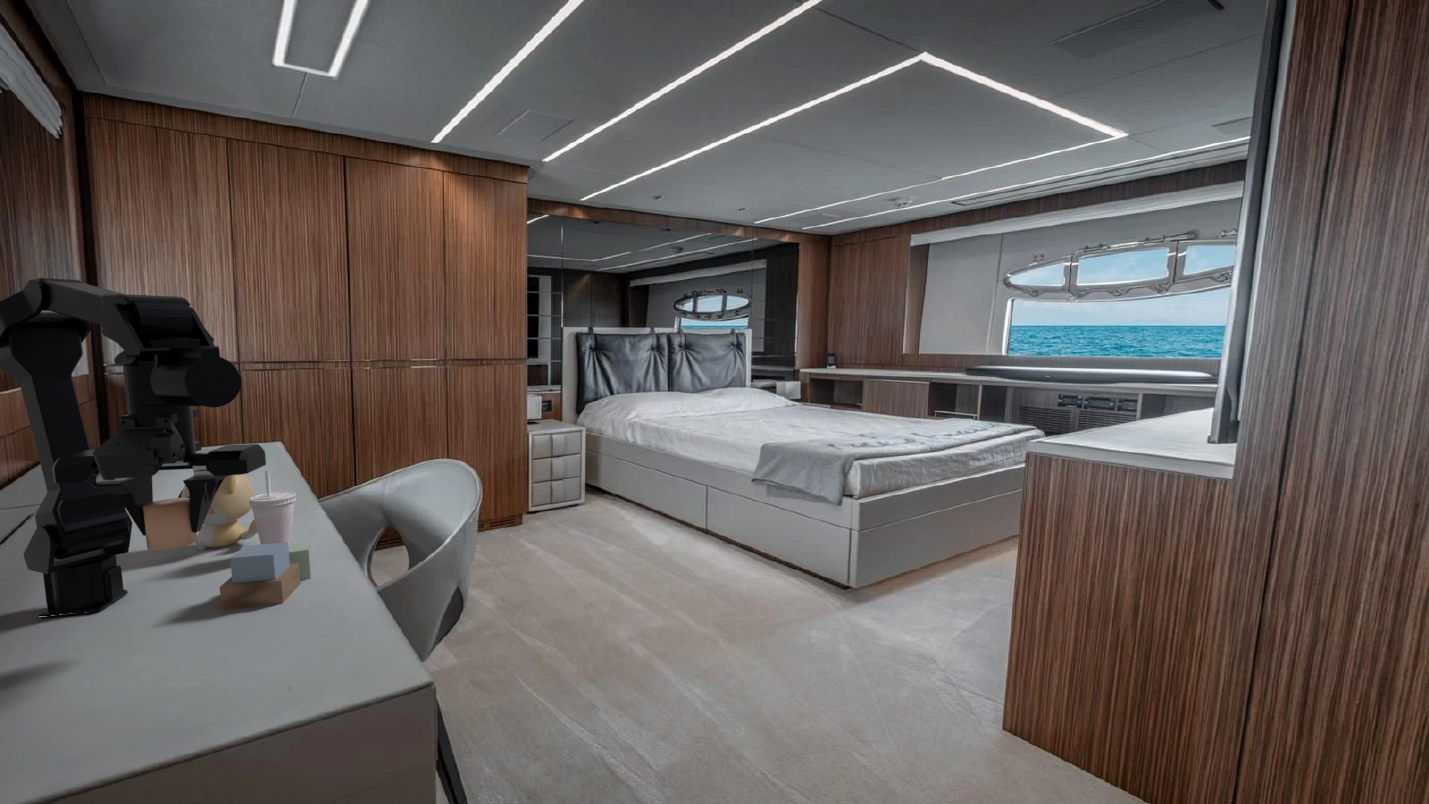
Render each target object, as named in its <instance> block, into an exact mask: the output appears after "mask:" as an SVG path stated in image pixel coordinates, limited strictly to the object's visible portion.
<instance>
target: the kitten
mask: <svg viewBox="0 0 1429 804" xmlns="http://www.w3.org/2000/svg"><path fill="white" fill-rule="evenodd" d="M193 476H194V474H193V475H192V476H191V477H193ZM182 488H183V489H182V490H181V491H180V492H179V495H178V496H177V498H189V490H188V488H187V487H186V485H185V484H184V486H183V487H182ZM253 496H255V491H254V488H253V485H252V483H251V481H250V480H249V479H248V477H247V476H246V474H241V475H230V476H227V477H225V478H224V480H223V482H222V483H221V485H220V487H219V489H218V491H217V492H216V494H215V496H214V499H213V501H212V503H211V506H210V508H209V511H208V513H207V516H206V518H205V520H204V523H203V525H202V528H201V530H200V531H198V532H197V541H196V542H195V546H196V548H197V549H198V550H199V551H204V550H206V548H219V547H225V546H230V545H233V544H237V543H238V542H240V541H241V540H249V539H250V538H253V537H254V536H256V534H257V535H258V531H257V527H256V522H255V518H253V520H252V521H251V522H250V525H249V526H248V530H245V528H244V526H243V524H242V523H241V522H240V521H239V519H241V518H243V516H245V515H247V514H248V513H249V512H250V511H252V506H249V499H250V498H251V497H253Z"/></svg>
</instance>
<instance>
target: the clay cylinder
mask: <svg viewBox="0 0 1429 804" xmlns="http://www.w3.org/2000/svg"><path fill="white" fill-rule="evenodd" d="M143 512H144V522H145V532H146V536H145V539H146V549H147V550H150V551H165V550H173V549H178V548H182V547H186V546H189V545H192V544H196V541H197V536H198V532H196V533H193V532H192V528H191V523H190V498H178V497H177V498H175V497H174V498H167V499H166V498H165V499H160V500H159V499H158V500H154V501H153V502H151V503H147V504H145V505H143Z"/></svg>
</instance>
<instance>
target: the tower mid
mask: <svg viewBox="0 0 1429 804" xmlns="http://www.w3.org/2000/svg"><path fill="white" fill-rule="evenodd" d="M229 559H230V560H229V561H230V570H231V577H232V583H241V582H252V581H263V580H275V579H277V578H278V577H279V576H280V575H281V574H282V573H283V572H284V571H285V570H286V569H287V568H288V567H290V560H289V548H288V542H286V543H273V544H261V543H260V544H249V545H246V546H245V547H243V548H242V549H241V550H239V551H237V553H235V554H234V555H232V556H231V557H230V558H229Z"/></svg>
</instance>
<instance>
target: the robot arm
mask: <svg viewBox="0 0 1429 804" xmlns="http://www.w3.org/2000/svg"><path fill="white" fill-rule="evenodd" d="M92 324H94V325H97V326H100V327H101V334H102V335H103V336H104V337H106V338H108V339H109V340H111V341H112V342H115V343H116V344H117V345H118V346H119V347H120V348H121V349H122V351H120V352H119V353H118V354H117V355H116V356H115V358H114V359H113V360H114V361H113V362H114V364H116V365H122V372H123V380H124V382H123V383H124V389H125V391H124V392H125V400H126V411H127V412H126V413H127V414H124V415H120V416H119V417H120V420H119V429H118V433H117V434H114V435H112V436H111V437H109V438H108V439H107V440H106V441H105V442H103V443H102V444H100V445H99V446H98V447H97V448H96V449H91V446H90V442H89V439H88V435H87V431H86V427H85V423H84V419H83V414H82V411H81V406H80V403H79V400H78V396H77V392H76V391H77V390H76V387H75V384H74V381H73V380H74V379H73V372H74V371H75V369H76V367H77V366H78V364H79V361H80V360H81V359H82V357H83V355H84V349H83V345H82V344H83V342H84V340H86V338H87V336H88V335H89V334H90V332H91V331H92V329H93V327H92ZM214 341H215V339H214V338H213V336H212V335H211V334H210V333H209V331H208V330H207V329H206V328H205V326H204V324H203V322H202V321H201V318H200V317H199V316H198V313H197V312H196V310H195V309H194V308H193V307H192V306H191V303H190V302H189V301H188V300H187V299H186V298H184V297H182V296H172V295H152V294H151V295H149V294H129V293H128V294H126V293H122V292H118V291H115V290H110V289H108V288H107V289H106V288H103V287H99V286H95V285H91V284H89V283H88V282H86V281H84V282H83V281H81V280H79V279H71V278H67V279H66V278H53V277H52V278H51V277H37V278H32V279H29V280H28V281H27V282H26V284H25V285H24V287H23V289H22V290H21V291H18V292H16V293H14V294H12V295H9V296H8V297H6V298H4V299H1V300H0V369H2V370H3V371H4V372H5V373H7V374H8V375H9V376H11V377H12V378H13V379H14V380H15V381H17V382H18V383H19V387H20V390H21V394H22V398H23V402H24V406H25V409H26V413H27V414H26V415H27V417H28V421H29V425H30V429H31V432H32V436H33V440H34V444H35V448H36V452H37V456H38V459H39V463H40V467H41V472H42V475H43V479H44V483H45V487H46V491H47V492H46V493H45V496H44V498H43V500H42V502H41V504H40V505H39V507H38V509H37V511H36V513H35V516H34V519H35V524H36V529H35V531H34V532H33V535H32V536H31V538H30V540H29V542H28V543H27V546H26V547H25V550H24V552H23V558H24V561H25V564H26V568H27V570H29V571H31V572H37V573H41V574H42V577H43V585H44V592H45V593H44V594H45V602H46V603H45V604H46V608H45V609H44V610H42V611H40V612H39V613H38V615H37V616H51V615H59V614H69V613H70V614H71V613H72V615H74V614H73V613H82V614H85V613H84V612H92V613H98V612H101V611H103V610H104V609H106V608H107V607H109V606H110V605H112V604H114V603H115V602H117V601H118V600H120V599H121V598H123V597H124V596H126V595H127V594H128V589H125V588H124V581H123V573H122V570H123V569H122V566H121V565H118V563H117V556H118V555H119V556H120V555H123V554H127V553H129V551H130V545H131V544H130V543H131V538H132V529H133V522H134V523H135V525H136V526H137V528H138V530H139V531H140V533H141V534H142V536H143V537H146V532H145V522H144V512H143V505H145V504H147V503H151V502H154V495H153V494H154V492H153V476H155V475H156V474H158V473H159V472H160V471H171V470H173V471H174V470H175V471H176V470H177V471H178V470H192V472H193V475H194V476H193V475H192V476H193V477H192V476H190V477H189V478H186V479H184V480H182V481H183V483H184V486H185V485H186V487H187V488H188V490H189V498H190V523H191V528H192V532H193V533H196V532H197V533H199V531H200V530H201V528H202V526H203V523H204V520H205V518H206V516H207V513H208V511H209V508H210V506H211V503H212V501H213V499H214V496H215V494H216V492H217V491H218V489H219V487H220V485H221V483H222V482H223V480H224V478H225V477H227V476H230V475H241V474H244V475H247V474H249V473H251V472H254V471H255V470H259V469H260V468H262V467H265V466H266V465H267V462H266V461H267V458H266V452H265V451H266V450H264V448H263V447H262V446H261V445H260V444H259V443H251V444H250V443H249V444H247V443H246V444H227V445H224V446H221V447H218V448H216V449H212V450H210V451H208V452H199V451H202V442H201V441H196V436H195V426H194V425H195V424H194V419H195V418H199V408H220V407H224V406H226V405H228V404H230V403H232V402H233V401H234V399H236V398H237V397H238V395H239V393H240V391H241V387H242V375H241V374H240V373H239V371H238V369H237V368H236V366H235V365H234V364H233V363H232V362H231V361H229V360H228V359H226V358H224V357H221V354H220V353H221V352H220V347H219V346H216V345H215V344H214ZM193 407H199V408H193ZM97 611H98V612H97Z"/></svg>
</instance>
